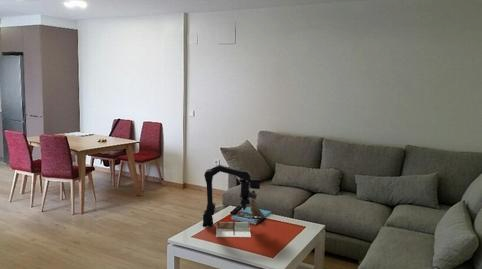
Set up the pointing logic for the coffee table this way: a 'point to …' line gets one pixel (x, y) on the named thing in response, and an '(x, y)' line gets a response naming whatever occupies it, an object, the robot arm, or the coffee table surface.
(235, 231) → the card
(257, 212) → the worn brown figurine
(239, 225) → the fence panel
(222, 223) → the fence fixed section
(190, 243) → the coffee table surface
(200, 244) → the coffee table surface
